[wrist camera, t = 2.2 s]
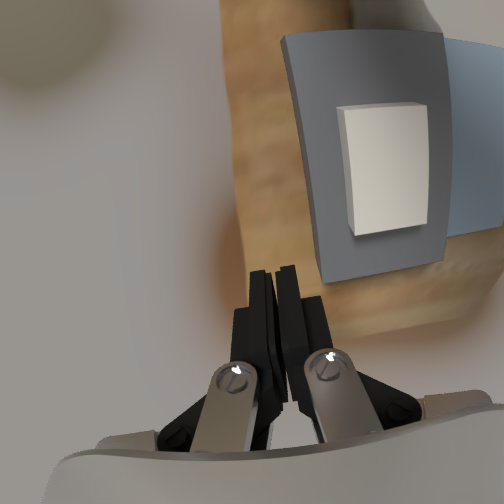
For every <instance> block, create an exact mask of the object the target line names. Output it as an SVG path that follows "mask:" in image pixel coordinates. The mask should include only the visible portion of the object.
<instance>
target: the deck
mask: <svg viewBox="0 0 504 504" xmlns="http://www.w3.org/2000/svg"><path fill="white" fill-rule="evenodd" d="M280 43H281V48H282V52H283V57H284V62H285V66H286V71H287V76H288V81H289V86H290V91H291V96H292V102H293V107H294V113H295V118H296V124H297V129H298V135H299V141H300V147H301V153H302V160H303V166H304V173H305V179H306V186H307V193H308V200H309V208H310V215H311V223H312V231H313V239H314V248H315V257H316V261H317V265H318V269H319V272H320V276H321V279H322V283H323V284H325V283H331V282H336V281H342V280H347V279H353V278H358V277H364V276H369V275H374V274H379V273H384V272H389V271H395V270H399V269H404V268H409V267H414V266H419V265H424V264H428V263H433V262H438V261H442V260H443V259H444V253H445V246H446V238H447V230H448V221H449V211H450V199H451V184H452V147H453V145H452V109H451V94H450V83H449V73H448V64H447V57H446V50H445V43H444V37H443V33H435V32H425V31H412V30H393V29H348V30H329V31H315V32H305V33H296V34H287V35H284V37H283V38H282V39H281V41H280ZM396 102H416V103H420V104H423V105H427V119H428V141H429V187H428V210H427V224H421V225H415V226H410V227H404V228H398V229H392V230H386V231H380V232H374V233H368V234H362V235H356V236H355V235H354V233H353V231H352V229H351V227H350V226H349V224H348V213H347V199H346V187H345V176H344V166H343V157H342V148H341V139H340V132H339V124H338V117H337V110H336V107H342V106H353V105H364V104H378V103H396Z"/></svg>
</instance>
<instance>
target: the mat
mask: <svg viewBox="0 0 504 504" xmlns="http://www.w3.org/2000/svg"><path fill="white" fill-rule="evenodd" d="M444 43H445V50H446V57H447V64H448V73H449V83H450V94H451V109H452V145H453V147H452V184H451V199H450V211H449V221H448V230H447V237H451V236H456V235H461V234H466V233H471V232H476V231H481V230H486V229H491V228H496V227H501V226H502V224H503V218H504V48H500V47H495V46H491V45H486V44H480V43H474V42H468V41H462V40H455V39H448V38H444Z"/></svg>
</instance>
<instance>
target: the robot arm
mask: <svg viewBox="0 0 504 504" xmlns="http://www.w3.org/2000/svg"><path fill="white" fill-rule="evenodd" d="M280 270H281V271H277V272H275V276H276V287H277V299H278V304H277V299H276V294H275V290H274V285H273V280H272V275H271V273H266V272H265V270H259V271H253V272H250V289H249V307H245V308H238V309H235V310H234V319H233V332H232V344H231V357H230V362H229V363H227V364H224V365H223V366H221V367H219V368H218V369H217V370H216V371H215V373H214V375H213V376H212V379H211V382H210V385H209V389H208V392H207V394H206V395H205V396H204V397H203V398H201V399H200V400H199V401H198V402H196V403H195V404H194V405H193V406H191V407H190V408H189V409H187V410H186V411H185V412H184V413H182V414H181V415H180V416H178V417H177V418H176V419H174V420H173V421H172V422H171V423H169V424H168V425H167V426H165V428H163V429H162V430H161V431H160V432H156V431H154V430H150V431H144V432H138V433H131V434H125V435H118V436H109V437H106V438H103V439H102V440H101V441H99V443H98V444H97V446H96V448H95V449H90V450H85V451H80V452H77V453H74V454H71V455H69V456H67V457H65V458H63V459H62V460H61V461H59V463H58V464H57V465H56V467H55V468H54V470H53V472H52V474H51V476H50V479H49V481H48V483H47V486H46V489H45V492H44V495H43V499H42V502H41V504H504V404H496V403H495V404H494V403H492V400H491V398H490V396H489V395H488V394H487V393H485V392H484V391H481V390H469V391H462V392H454V393H445V394H436V395H425V396H424V398H423V399H415V398H414V397H412V396H410V395H408V394H406V393H404V392H402V391H399V390H397V389H395V388H393V387H391V386H388V385H386V384H384V383H382V382H380V381H378V380H375V379H373V378H371V377H369V376H367V375H365V374H363V373H361V372H358V371H356V369H355V367H354V365H353V363H352V361H351V359H350V357H349V356H348V355H347V354H346V353H344V352H343V351H341V350H338V349H335V348H333V344H332V340H331V335H330V331H329V327H328V323H327V319H326V315H325V311H324V307H323V303H322V299H321V296H314V297H308V298H302V299H301V298H300V292H299V286H298V281H297V275H296V270H295V265H289V266H283V267H280ZM286 372H287V376H288V381H289V385H290V390H291V395H292V400H293V401H298V405H299V411H300V412H302V413H303V414H305V415H306V416H308V417H310V418H311V422H312V426H313V429H314V432H315V435H316V439H317V442H318V444H314V445H307V446H300V447H292V448H283V449H273V450H270V445H271V440H272V432H273V421H274V420H275V418H276V417H278V416H279V415H280V414H281V411H283V403H285V402H288V391H287V378H286Z"/></svg>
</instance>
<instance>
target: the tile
mask: <svg viewBox="0 0 504 504" xmlns="http://www.w3.org/2000/svg"><path fill="white" fill-rule="evenodd" d="M336 110H337V117H338V124H339V132H340V139H341V148H342V157H343V166H344V176H345V187H346V199H347V213H348V224H349V226H350V227H351V229H352V231H353V233H354V235H355V236H356V235H362V234H368V233H374V232H380V231H386V230H392V229H398V228H404V227H410V226H415V225H421V224H427V210H428V187H429V141H428V119H427V105H423V104H420V103H416V102H396V103H378V104H364V105H353V106H342V107H336Z"/></svg>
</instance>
